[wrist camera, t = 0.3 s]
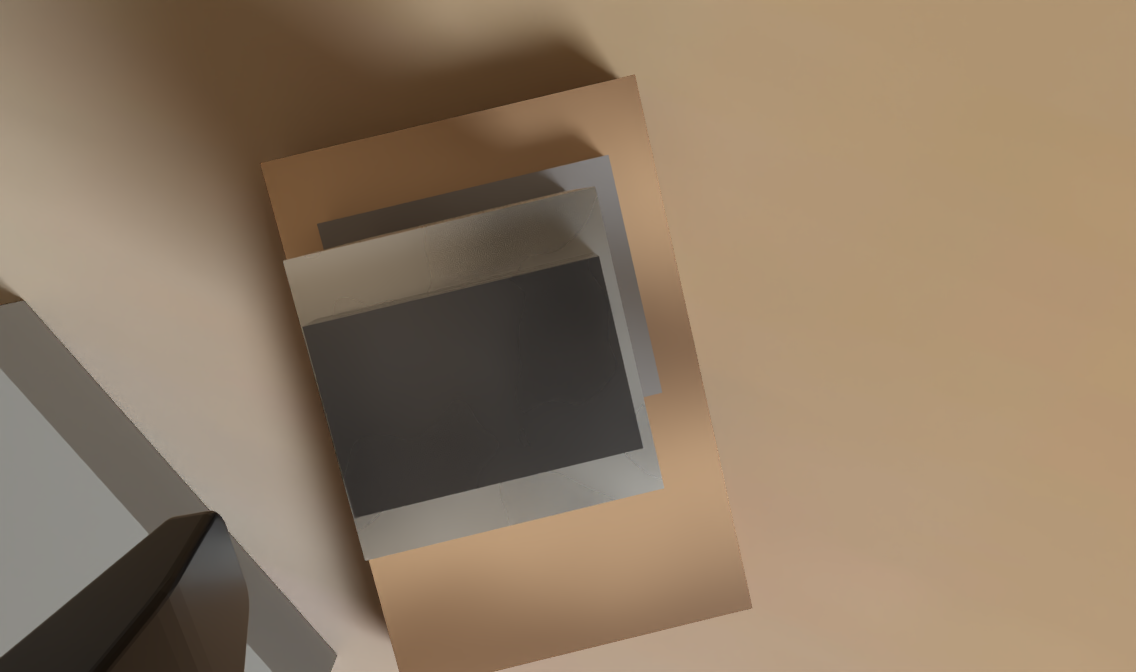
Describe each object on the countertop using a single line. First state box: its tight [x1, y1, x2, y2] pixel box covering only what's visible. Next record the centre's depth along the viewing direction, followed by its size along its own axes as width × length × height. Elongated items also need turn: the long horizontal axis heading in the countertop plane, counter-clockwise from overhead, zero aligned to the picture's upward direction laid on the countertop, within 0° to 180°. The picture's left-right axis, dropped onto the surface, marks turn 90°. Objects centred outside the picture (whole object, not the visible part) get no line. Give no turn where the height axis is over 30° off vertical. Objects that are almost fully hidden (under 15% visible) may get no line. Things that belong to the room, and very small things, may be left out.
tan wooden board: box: [260, 75, 752, 672], centre depth 23 cm, size 12×8×3 cm, turn 13°
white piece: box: [283, 187, 664, 561], centre depth 17 cm, size 4×4×9 cm
